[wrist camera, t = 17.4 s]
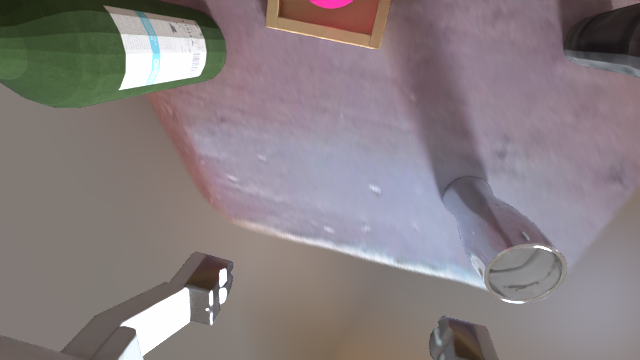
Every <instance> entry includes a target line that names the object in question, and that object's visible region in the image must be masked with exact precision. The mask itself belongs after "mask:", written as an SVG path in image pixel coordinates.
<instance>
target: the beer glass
mask: <svg viewBox="0 0 640 360" xmlns="http://www.w3.org/2000/svg"><path fill="white" fill-rule="evenodd" d="M443 204H444V206H445V208H446V209H447V210H448V212H449V213H451V214H452V215H453V216H454V217H455V219H456V222H457V226H458V230H459V234H460V239H461V242H462V245H463V248H464V250H465V252H466V254H467V257H468V259H469V260H470V262H471V264H472V265H473V267H474V269H475V270H476V272H477V273H478V275H479V276H480V278H481V279H482V280H483V282H484V283H485V285H486V287H487V289H488V290H489V291H490V292H491V293H492V294H493V295H494V296H496V297H497V298H499V299H502V300H504V301H508V302H515V303H524V302H531V301H535V300H539V299H541V298H544V297H546V296H548V295H549V294H551V293H553V292H554V291H555V290H556V289H557V288H558V287H559V286H560V285H561V284H562V283H563V281H564V279H565V277H566V274H567V263H566V260H565V258H564V256H563V255H562V254H561V253H560V252H559V251H558V250H557V249H556V248H555V246H554V245H553V244H552V243H551V241H550V240H549V239H548V238H547V236H546V235H545V234H544V233H543V232H542V231H541V230H540V229H539V228H538V227H537V225H535V224H534V223H533V222H532V221H531V220H530V219H529V218H528V217H527V216H525V215H524V214H522V213H521V212H520V211H518V210H517V209H515V208H514V207H512V206H510V205H509V204H507V203H505V202H504V201H502V200H500V199H499V198H497V197H496V196H495V195H494V194H493V191H492V189H491V187H490V185H489V184H488V183H487V182H486V181H485V180H484V179H482V178H480V177H477V176H463V177H460V178H457V179H455V180H454V181H452V182H451V183H450V184H449V185H448V186H447V187H446V189H445V191H444V193H443Z"/></svg>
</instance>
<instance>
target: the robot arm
mask: <svg viewBox="0 0 640 360" xmlns="http://www.w3.org/2000/svg"><path fill="white" fill-rule="evenodd" d="M232 269H233V262H232V261H229V260H226V259H221V258H218V257H215V256H212V255H208V254H204V253H201V252H197V251H196V252H194V253H193V254H191V256H190V257H189V258H188V259H187V261H186V262H185V263H184V264H183V266H182V267H181V268H180V270H179V271H178V272H177V273H176V275H175V276H174V277H173V278H172V280H171V281H170V282H169V283H168V282H164V283H162V284H160V285H158V286H156V287H154V288H152V289H150V290H148V291H145V292H143V293H141V294H139V295H137V296H135V297H133V298H131V299H129V300H127V301H125V302H123V303H121V304H118V305H116V306H114V307H113V308H110V309H108V310H106V311H104V312H102V313H100V314H98V315H96V316H94V317H93V319H91V320H90V322H89V323H88V324H87V325H86V326H85V327H84V328H83V329H82V330H81V331H80V332H79V333H78V334H77V335H76V336H75V337H74V338H73V339H72V341H70V342H69V343H68V344H67V346H66V347H65V348H64V349H63V350H62V351H61V352H58V351H54V350H51V349H47V348H44V347H40V346H37V345H34V344H30V343H27V342H23V341H20V340H17V339H13V338H10V337H6V336H3V335H0V360H143V355H144V354H146V353H147V352H148V351H150V350H151V349H153V348H154V347H155V346H157V345H158V344H159V343H161V342H162V341H163V340H165V339H166V338H168V337H169V336H171V335H172V334H173V333H175V332H176V331H177V330H179V329H180V328H182V327H183V326H184V325H186V324H187V323H189V320H190V321H195V322H198V323H202V324H207V325H212V324H213V322H214V320H215V319H216V316H217V315H218V313H219V311H220V303H222V302H223V301H225V300H226V298H227V296H228V294H229V292H230V289H231V286H232V282H233V275H232V274H231V271H232ZM438 324H439V327H437V328H434V329H433V331H432V333H431V335H430V340H429V350H430V355H431V357H432V358H433V360H499V359H498V356H497V353H496V351H495V348H494V345H493V343H492V340H491V337H490V334H489V332H488V329H487V328H486V327H485V326H482V325H478V324H474V323H470V322H466V321H463V320H459V319H455V318H451V317H446V316H442V317H441V318H440V319H439V321H438Z"/></svg>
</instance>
